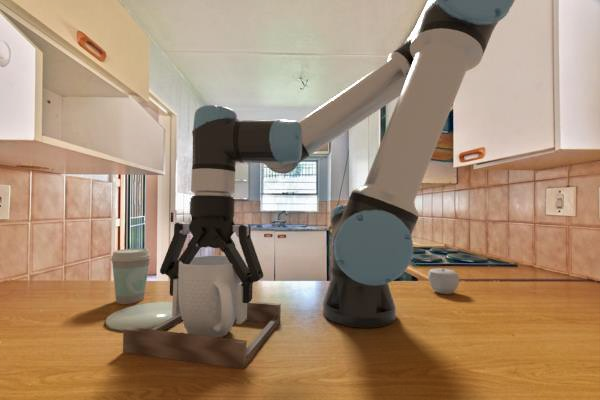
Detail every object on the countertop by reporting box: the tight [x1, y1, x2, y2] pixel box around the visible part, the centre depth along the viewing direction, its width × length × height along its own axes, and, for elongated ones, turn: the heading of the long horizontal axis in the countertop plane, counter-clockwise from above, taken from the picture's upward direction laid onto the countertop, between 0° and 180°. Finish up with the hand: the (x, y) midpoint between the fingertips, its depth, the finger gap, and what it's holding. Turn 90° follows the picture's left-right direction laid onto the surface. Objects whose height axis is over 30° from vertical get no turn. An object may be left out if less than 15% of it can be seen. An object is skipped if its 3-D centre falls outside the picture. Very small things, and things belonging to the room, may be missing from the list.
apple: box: [427, 267, 460, 295], centre depth 81 cm, size 8×8×7 cm
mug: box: [178, 254, 242, 338], centre depth 52 cm, size 15×11×13 cm
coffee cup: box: [110, 248, 152, 305], centre depth 72 cm, size 8×8×12 cm
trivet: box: [105, 301, 174, 332], centre depth 61 cm, size 15×15×1 cm
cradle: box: [122, 300, 282, 370], centre depth 52 cm, size 20×18×4 cm
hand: (209, 317), depth 52 cm, fingers closed on mug, 12 cm apart
